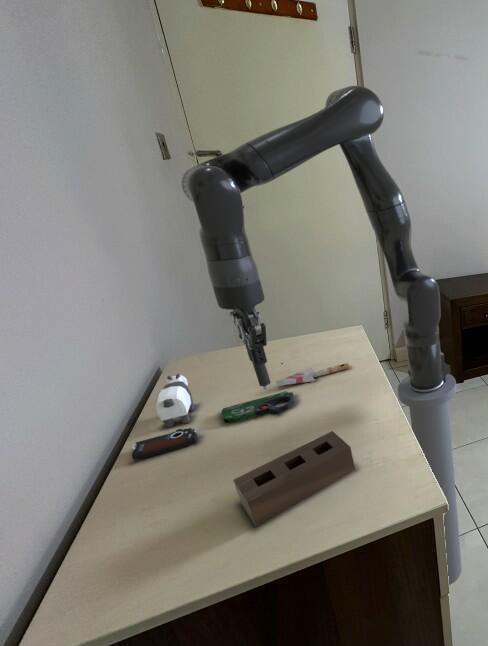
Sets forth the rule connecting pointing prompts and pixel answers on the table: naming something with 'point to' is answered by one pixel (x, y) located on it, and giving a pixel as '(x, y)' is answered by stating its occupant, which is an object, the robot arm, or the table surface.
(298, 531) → the table surface
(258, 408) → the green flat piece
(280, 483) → the pen stand
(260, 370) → the stylus
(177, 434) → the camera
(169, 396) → the giant panda
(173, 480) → the table surface
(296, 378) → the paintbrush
